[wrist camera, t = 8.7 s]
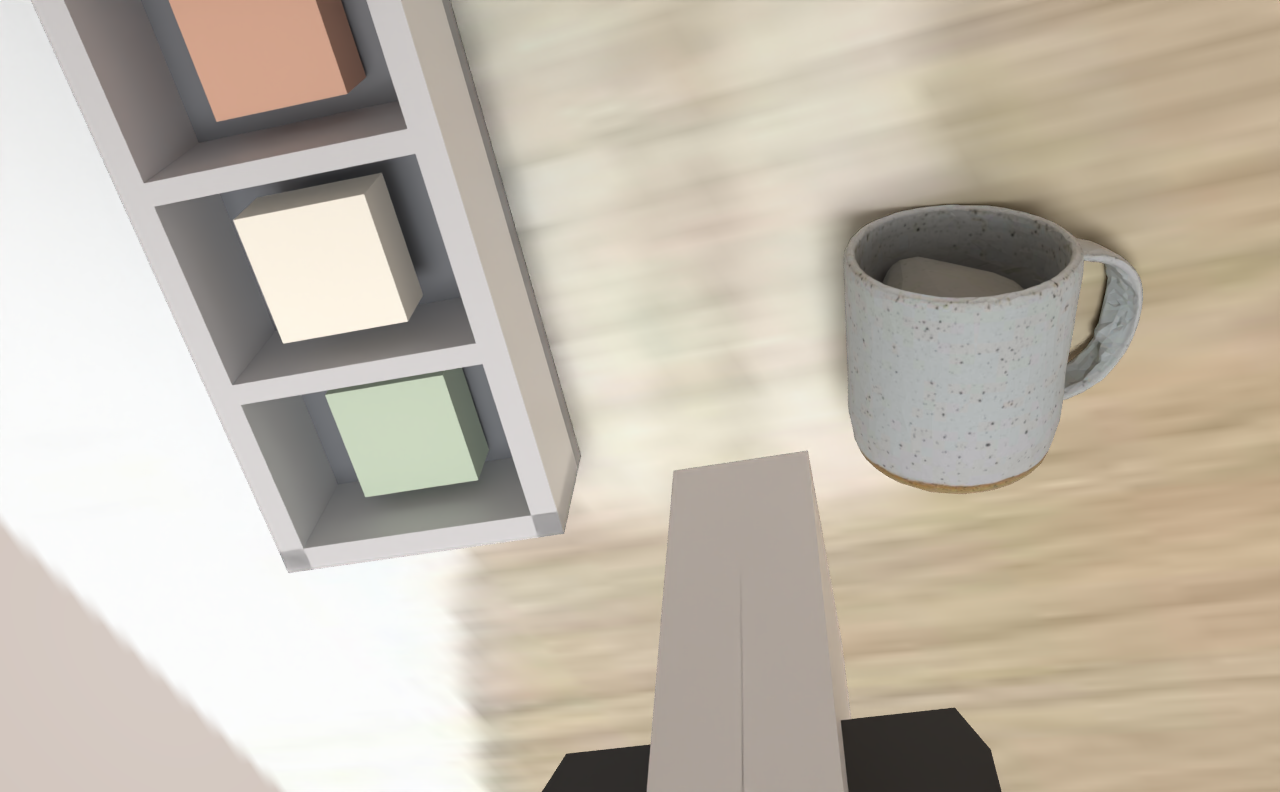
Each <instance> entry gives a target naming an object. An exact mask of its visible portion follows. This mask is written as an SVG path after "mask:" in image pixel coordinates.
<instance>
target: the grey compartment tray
mask: <svg viewBox="0 0 1280 792" xmlns="http://www.w3.org/2000/svg"><path fill="white" fill-rule="evenodd" d="M31 2H32V4H33V6H34V8H35V11H36V13H37V15H38V17H39V19H40V22H41V24H42V26H43V28H44V31H45V33H46V35H47V37H48V39H49V42H50V44H51V46H52V48H53V51H54V53H55V55H56V57H57V59H58V62H59V64H60V66H61V68H62V71H63V73H64V75H65V77H66V79H67V82H68V84H69V86H70V88H71V91H72V93H73V95H74V97H75V99H76V102H77V104H78V106H79V108H80V111H81V113H82V115H83V117H84V119H85V122H86V124H87V126H88V128H89V131H90V133H91V135H92V137H93V139H94V142H95V144H96V146H97V148H98V151H99V153H100V155H101V157H102V159H103V162H104V164H105V166H106V168H107V171H108V173H109V175H110V177H111V179H112V182H113V184H114V186H115V188H116V191H117V193H118V195H119V197H120V200H121V202H122V204H123V206H124V208H125V211H126V213H127V215H128V217H129V220H130V222H131V224H132V226H133V228H134V231H135V233H136V235H137V237H138V240H139V242H140V244H141V246H142V248H143V251H144V253H145V255H146V257H147V260H148V262H149V264H150V266H151V268H152V271H153V273H154V275H155V277H156V280H157V282H158V284H159V286H160V288H161V291H162V293H163V295H164V297H165V300H166V302H167V304H168V306H169V308H170V311H171V313H172V315H173V317H174V320H175V322H176V324H177V326H178V328H179V331H180V333H181V335H182V337H183V340H184V342H185V344H186V346H187V348H188V351H189V353H190V355H191V357H192V360H193V362H194V364H195V366H196V368H197V371H198V373H199V375H200V377H201V380H202V382H203V384H204V386H205V388H206V391H207V393H208V395H209V397H210V400H211V402H212V404H213V406H214V408H215V411H216V413H217V415H218V417H219V420H220V422H221V424H222V426H223V428H224V431H225V433H226V435H227V437H228V440H229V442H230V444H231V446H232V448H233V451H234V453H235V455H236V457H237V460H238V462H239V464H240V466H241V468H242V471H243V473H244V475H245V477H246V480H247V482H248V484H249V486H250V488H251V491H252V493H253V495H254V497H255V500H256V502H257V504H258V506H259V508H260V511H261V513H262V515H263V517H264V520H265V522H266V524H267V526H268V528H269V531H270V533H271V535H272V537H273V540H274V542H275V544H276V546H277V548H278V551H279V553H280V555H281V557H282V560H283V562H284V564H285V566H286V568H287V571H288V573H292V572H299V571H306V570H313V569H320V568H327V567H334V566H341V565H348V564H355V563H362V562H369V561H376V560H383V559H390V558H397V557H404V556H411V555H418V554H425V553H432V552H439V551H446V550H453V549H460V548H467V547H474V546H481V545H488V544H495V543H502V542H509V541H516V540H523V539H530V538H537V537H544V536H551V535H558V534H564V532H565V527H566V522H567V518H568V513H569V508H570V504H571V499H572V495H573V490H574V485H575V481H576V476H577V471H578V467H579V462H580V458H581V455H580V452H579V448H578V445H577V441H576V438H575V434H574V431H573V427H572V424H571V420H570V417H569V413H568V410H567V406H566V403H565V399H564V396H563V392H562V389H561V385H560V382H559V378H558V375H557V371H556V368H555V365H554V361H553V358H552V354H551V351H550V347H549V344H548V340H547V337H546V333H545V330H544V326H543V323H542V319H541V316H540V312H539V309H538V305H537V302H536V298H535V295H534V291H533V288H532V284H531V281H530V277H529V274H528V270H527V267H526V263H525V260H524V257H523V253H522V250H521V246H520V243H519V239H518V236H517V232H516V229H515V225H514V222H513V218H512V215H511V211H510V208H509V204H508V201H507V197H506V194H505V190H504V187H503V183H502V180H501V176H500V173H499V169H498V166H497V162H496V159H495V155H494V152H493V149H492V145H491V142H490V138H489V135H488V131H487V128H486V124H485V121H484V117H483V114H482V110H481V107H480V103H479V100H478V96H477V93H476V89H475V86H474V82H473V79H472V75H471V72H470V68H469V65H468V61H467V58H466V54H465V51H464V47H463V44H462V41H461V37H460V34H459V30H458V27H457V23H456V20H455V16H454V13H453V9H452V6H451V2H450V0H341V2H342V5H343V8H344V11H345V14H346V17H347V20H348V23H349V26H350V29H351V32H352V35H353V38H354V41H355V44H356V47H357V50H358V53H359V57H360V60H361V63H362V66H363V69H364V72H365V75H366V78H365V79H364V80H362V81H361V82H360V83H359V84H358V85H357V86H356V87H355V88H353V89H352V90H351V91H350V92H349V93H348V94H345V95H340V96H335V97H331V98H326V99H321V100H317V101H312V102H307V103H303V104H298V105H293V106H289V107H284V108H279V109H275V110H270V111H265V112H261V113H256V114H251V115H247V116H242V117H237V118H233V119H228V120H223V121H219V122H217V121H216V119H215V116H214V114H213V111H212V109H211V106H210V104H209V101H208V99H207V96H206V94H205V91H204V89H203V86H202V83H201V81H200V78H199V76H198V73H197V71H196V68H195V66H194V63H193V61H192V58H191V56H190V53H189V51H188V48H187V46H186V43H185V41H184V38H183V36H182V33H181V30H180V28H179V25H178V23H177V20H176V18H175V15H174V13H173V10H172V8H171V5H170V3H169V0H31ZM377 173H382V174H383V177H384V180H385V183H386V186H387V189H388V192H389V195H390V198H391V201H392V204H393V207H394V210H395V213H396V216H397V219H398V222H399V225H400V228H401V231H402V234H403V237H404V240H405V243H406V245H407V248H408V251H409V254H410V257H411V260H412V263H413V266H414V269H415V272H416V275H417V278H418V281H419V284H420V287H421V290H422V293H423V296H422V298H421V300H420V301H419V303H418V305H417V307H416V308H415V310H414V312H413V314H412V315H411V317H410V319H409V321H408V322H402V323H397V324H391V325H385V326H380V327H374V328H369V329H363V330H357V331H352V332H346V333H341V334H335V335H329V336H324V337H318V338H312V339H307V340H301V341H296V342H290V343H284V344H283V342H282V340H281V337H280V335H279V332H278V330H277V327H276V325H275V322H274V320H273V317H272V315H271V312H270V310H269V307H268V305H267V303H266V300H265V298H264V295H263V293H262V290H261V288H260V285H259V283H258V280H257V278H256V275H255V273H254V271H253V268H252V266H251V263H250V261H249V258H248V256H247V253H246V251H245V248H244V246H243V243H242V241H241V239H240V236H239V234H238V231H237V229H236V226H235V224H234V221H233V220H234V219H235V218H236V217H237V216H238V215H239V214H240V213H241V212H242V211H243V210H244V209H245V208H247V207H248V206H249V205H250V204H251V203H252V202H253V201H254V200H255V199H256V198H258V197H263V196H268V195H273V194H278V193H283V192H288V191H293V190H298V189H303V188H308V187H313V186H318V185H323V184H328V183H332V182H337V181H342V180H347V179H352V178H357V177H362V176H367V175H372V174H377ZM456 368H462V369H463V372H464V376H465V379H466V382H467V385H468V388H469V391H470V394H471V397H472V400H473V403H474V406H475V409H476V412H477V415H478V418H479V421H480V424H481V427H482V430H483V433H484V436H485V439H486V442H487V445H488V448H489V451H488V454H487V457H486V460H485V463H484V465H483V468H482V471H481V474H480V477H479V480H476V481H469V482H463V483H456V484H450V485H443V486H436V487H430V488H423V489H417V490H410V491H404V492H397V493H390V494H384V495H377V496H371V497H365V495H364V492H363V490H362V487H361V485H360V482H359V480H358V477H357V475H356V472H355V470H354V467H353V465H352V462H351V460H350V457H349V455H348V452H347V449H346V447H345V444H344V442H343V439H342V437H341V434H340V432H339V429H338V427H337V424H336V422H335V419H334V417H333V414H332V412H331V409H330V407H329V404H328V402H327V399H326V397H325V394H326V393H327V391H328V390H332V389H338V388H344V387H350V386H356V385H362V384H368V383H373V382H379V381H385V380H391V379H397V378H403V377H409V376H415V375H421V374H426V373H432V372H438V371H444V370H450V369H456Z"/></svg>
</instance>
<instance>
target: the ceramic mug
mask: <svg viewBox="0 0 1280 792" xmlns="http://www.w3.org/2000/svg"><path fill="white" fill-rule="evenodd" d="M1084 261H1091V262H1100V263H1104V264H1105V267H1106V274H1107V277H1108V280H1107V287H1106V292H1105V297H1104V302H1103V306H1102V310H1101V314H1100V319H1099V323H1098V324H1097V326H1096V328H1095V330H1094V337H1093V338H1092V340H1091V341H1090V343H1089V344H1088V345H1087V347H1086V348H1085V349H1084V350H1082V351H1081V352H1080V353H1079V354H1078V355H1077V356H1076V357H1075V358H1074V359H1073V360H1071V361H1070V362H1068V356H1069V351H1070V345H1071V340H1072V334H1073V329H1074V323H1075V316H1076V309H1077V304H1078V299H1079V293H1080V288H1081V283H1082V276H1083V265H1084ZM844 281H845V314H846V341H847V363H848V407H849V414H850V418H851V422H852V427H853V432H854V437H855V440H856V442H857V444H858V446H859V448H860V451H861V452H862V454H863V455H864V457H865V458H866V459H867V460H868V461H869V462H870V463H871V464H872V465H873V466H874V467H875V468H876V469H878V470H879V471H881V472H882V473H883V474H885V475H886V476H888V477H890V478H892V479H894V480H896V481H898V482H900V483H902V484H906V485H909V486H912V487H916V488H919V489H922V490H926V491H929V492H938V493H953V494H967V493H976V492H984V491H989V490H994V489H998V488H1001V487H1004V486H1007V485H1010V484H1012V483H1014V482H1016V481H1018V480H1020V479H1022V478H1023V477H1025V476H1027V475H1028V474H1030V473H1031V472H1032V471H1033V470H1034V469H1035V468H1036V467H1038V466H1039V465H1040V464H1041V462H1042V461H1043V459H1044V458H1045V456H1046V454H1047V452H1048V450H1049V448H1050V445H1051V443H1052V440H1053V437H1054V435H1055V432H1056V429H1057V426H1058V423H1059V420H1060V415H1061V409H1062V403H1063V400H1065V399H1069V398H1071V397H1073V396H1075V395H1078V394H1080V393H1082V392H1084V391H1086V390H1087V389H1089V388H1090V387H1092V386H1093V385H1095V384H1096V383H1098V382H1100V381H1101V380H1102V379H1103V378H1105V377H1106V375H1107V374H1108V373H1109V372H1110V371H1111V370H1112V369H1113V368H1114V367H1115V366H1116V364H1117V363H1118V362H1119V360H1120V359H1121V358H1122V356H1123V355H1124V353H1125V352H1126V350H1127V348H1128V347H1129V345H1130V343H1131V341H1132V338H1133V336H1134V333H1135V331H1136V329H1137V326H1138V322H1139V318H1140V314H1141V309H1142V301H1143V288H1142V283H1141V280H1140V277H1139V275H1138V273H1137V272H1136V270H1135V269H1134V267H1133V266H1132V265H1131V264H1130V263H1129V262H1128V261H1126V260H1125V259H1124V258H1123V257H1121V256H1120V255H1118V254H1116V253H1114V252H1112V251H1111V250H1109V249H1107V248H1105V247H1103V246H1101V245H1099V244H1097V243H1095V242H1092V241H1089V240H1083V239H1076V238H1075V237H1074V236H1073V235H1072V234H1071V233H1069V232H1068V231H1067V230H1065V229H1064V228H1063V227H1061V226H1059V225H1058V224H1056V223H1054V222H1053V221H1050V220H1047V219H1044V218H1042V217H1039V216H1035V215H1031V214H1028V213H1026V212H1022V211H1016V210H1012V209H1008V208H1003V207H996V206H980V205H942V206H930V207H923V208H915V209H912V210H904V211H900V212H896V213H893V214H891V215H889V216H886V217H883V218H881V219H878V220H875V221H873V222H871V223H869V224H867V225H866V226H864V227H863V228H861V229H860V230H859V231H858V232H857V233H856V234H855V235H854V236H853V237H852V238H851V240H850V242H849V243H848V245H847V247H846V249H845V254H844ZM1067 362H1068V363H1067Z"/></svg>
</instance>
